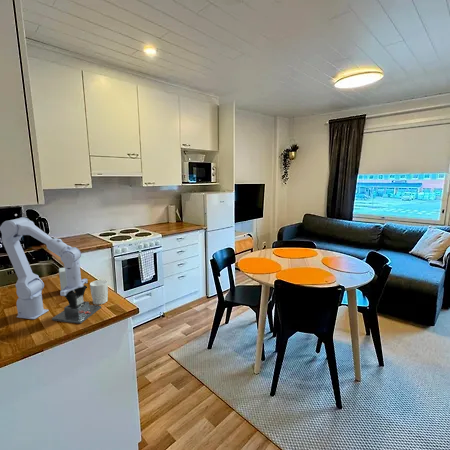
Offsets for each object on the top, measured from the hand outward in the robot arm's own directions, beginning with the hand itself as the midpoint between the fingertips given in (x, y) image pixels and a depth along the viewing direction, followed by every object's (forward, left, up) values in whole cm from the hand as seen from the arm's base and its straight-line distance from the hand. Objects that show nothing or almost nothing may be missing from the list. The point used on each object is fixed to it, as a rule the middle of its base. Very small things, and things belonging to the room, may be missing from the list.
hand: (76, 303), depth 122 cm
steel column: (0, 0, -4) cm, 4 cm away
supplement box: (-22, +21, -5) cm, 31 cm away
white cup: (+3, +13, -5) cm, 14 cm away
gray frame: (0, 0, -5) cm, 5 cm away
